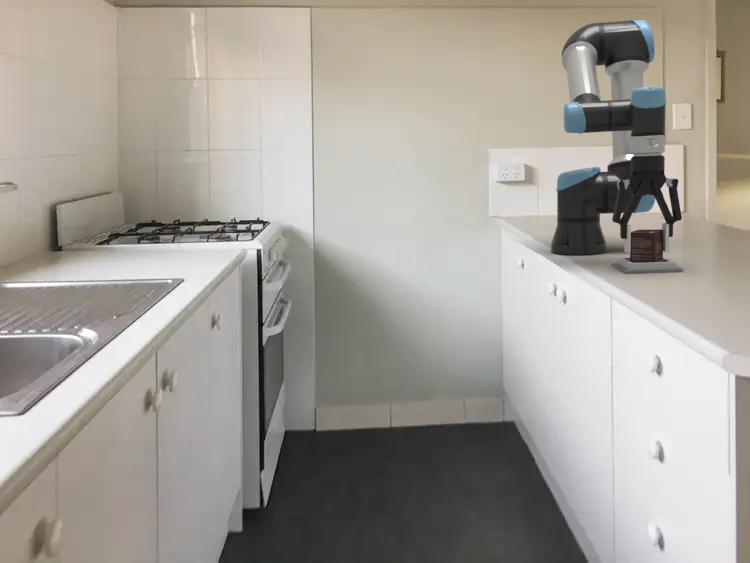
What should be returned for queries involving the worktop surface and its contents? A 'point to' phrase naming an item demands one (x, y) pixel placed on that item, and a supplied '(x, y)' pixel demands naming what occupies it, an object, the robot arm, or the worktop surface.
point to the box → (646, 246)
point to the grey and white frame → (646, 266)
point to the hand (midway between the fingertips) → (646, 251)
